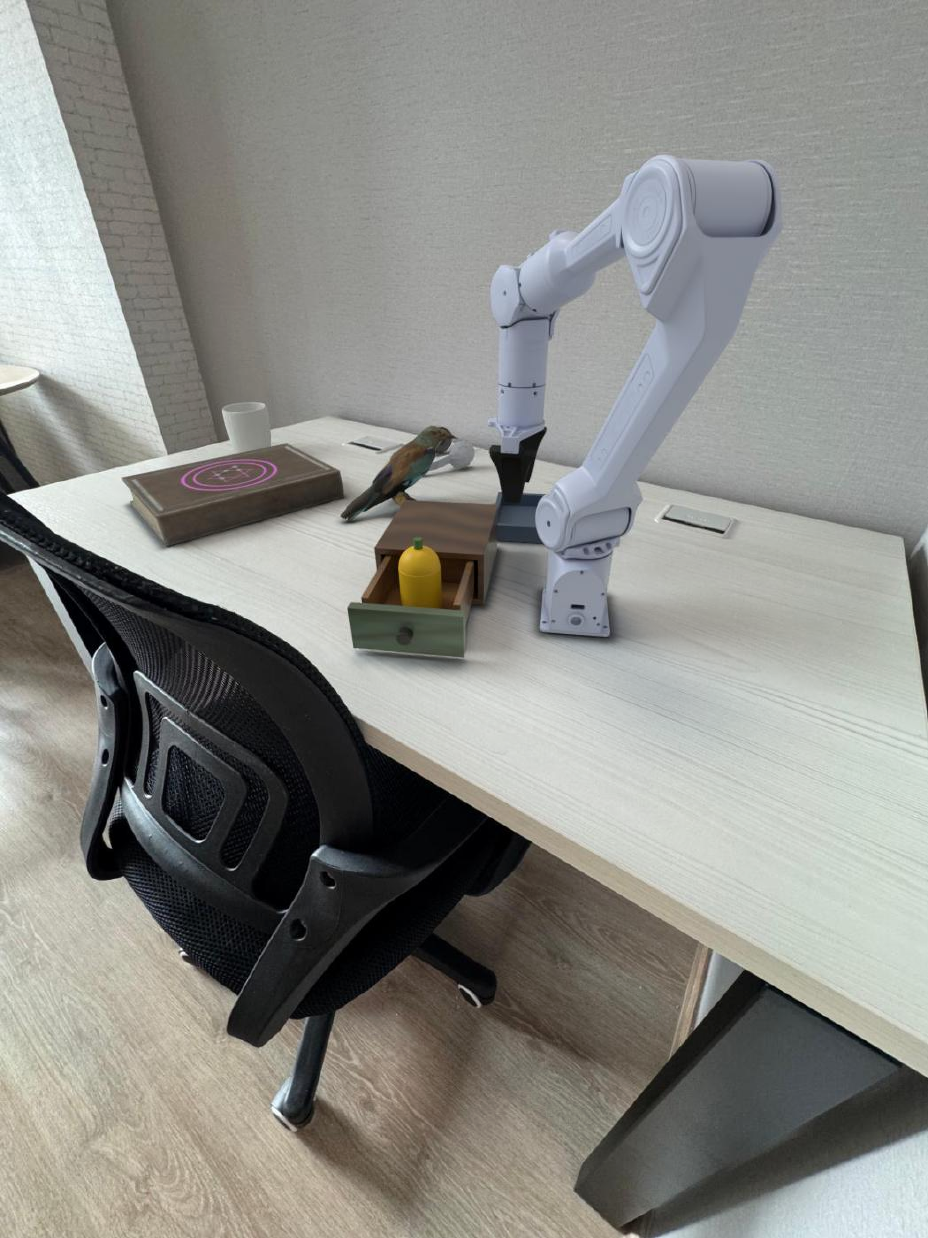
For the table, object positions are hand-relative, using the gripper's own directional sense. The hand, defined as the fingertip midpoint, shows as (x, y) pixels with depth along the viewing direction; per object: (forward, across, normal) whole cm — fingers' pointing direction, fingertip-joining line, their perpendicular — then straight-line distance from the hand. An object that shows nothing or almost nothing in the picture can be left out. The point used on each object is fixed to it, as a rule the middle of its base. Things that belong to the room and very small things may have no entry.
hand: (517, 491), depth 75 cm
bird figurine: (+10, -13, -22) cm, 28 cm away
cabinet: (+10, +6, -9) cm, 15 cm away
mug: (+10, -36, -65) cm, 76 cm away
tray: (+10, -13, +2) cm, 16 cm away
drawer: (+9, +19, -8) cm, 23 cm away
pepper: (+8, +18, -8) cm, 22 cm away
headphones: (+10, -38, -22) cm, 45 cm away
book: (+10, -10, -52) cm, 54 cm away
